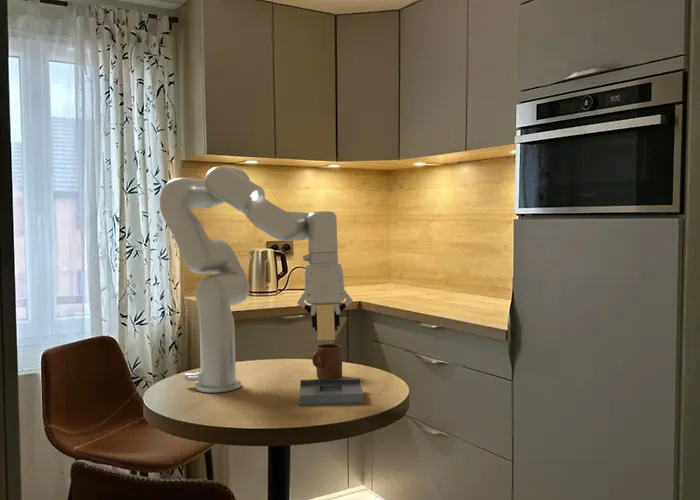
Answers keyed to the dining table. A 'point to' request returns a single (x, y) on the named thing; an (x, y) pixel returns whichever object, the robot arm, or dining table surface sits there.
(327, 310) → the tan cardboard box
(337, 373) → the mug
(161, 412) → the dining table surface
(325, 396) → the jig
